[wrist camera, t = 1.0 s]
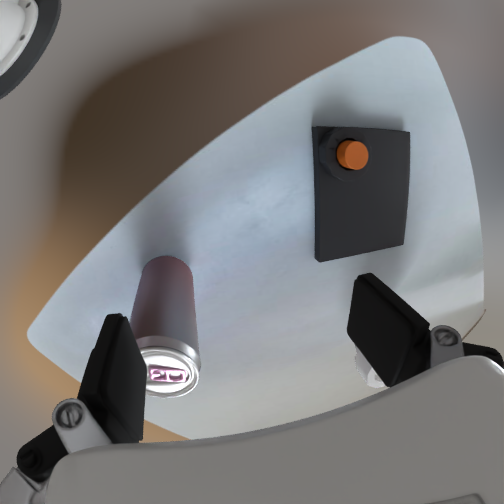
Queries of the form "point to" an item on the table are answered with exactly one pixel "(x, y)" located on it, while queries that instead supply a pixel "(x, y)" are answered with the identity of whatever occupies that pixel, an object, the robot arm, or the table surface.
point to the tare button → (352, 154)
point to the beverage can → (167, 327)
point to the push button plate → (360, 192)
